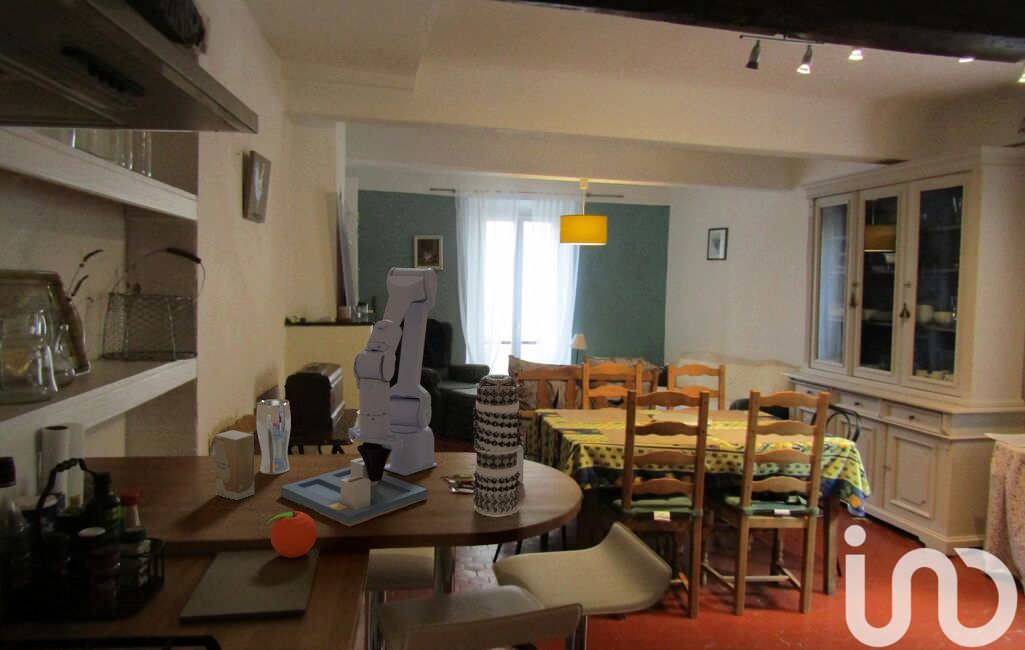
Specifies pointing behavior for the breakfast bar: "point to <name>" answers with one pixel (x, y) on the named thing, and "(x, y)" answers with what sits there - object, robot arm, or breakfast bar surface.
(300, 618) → the breakfast bar surface
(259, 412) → the beer glass
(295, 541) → the clementine
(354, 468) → the white block
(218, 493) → the skincare box
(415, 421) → the robot arm
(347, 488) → the white striped block
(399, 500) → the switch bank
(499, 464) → the decorative candle
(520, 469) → the white rounded block
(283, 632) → the breakfast bar surface
